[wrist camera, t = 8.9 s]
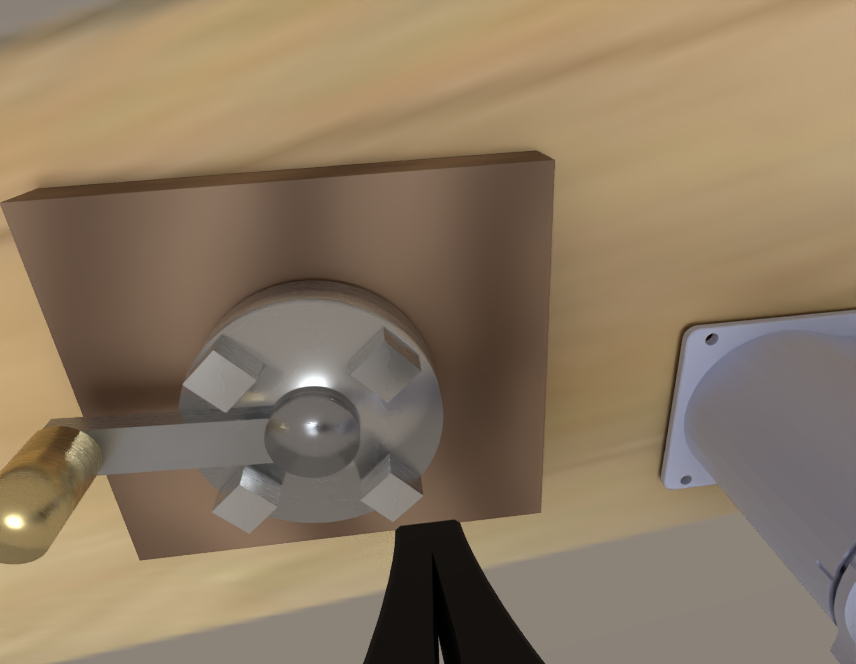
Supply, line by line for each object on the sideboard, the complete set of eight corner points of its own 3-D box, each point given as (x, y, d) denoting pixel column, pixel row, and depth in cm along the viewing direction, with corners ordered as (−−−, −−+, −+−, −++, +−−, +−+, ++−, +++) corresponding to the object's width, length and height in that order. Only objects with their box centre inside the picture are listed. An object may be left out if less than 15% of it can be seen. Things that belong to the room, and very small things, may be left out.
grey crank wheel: (435, 274, 18) (464, 360, 13) (436, 475, 21) (459, 605, 16) (35, 292, 17) (-111, 393, 12) (104, 499, 20) (15, 648, 15)
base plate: (536, 150, 19) (556, 160, 17) (528, 480, 25) (541, 514, 23) (36, 188, 18) (-3, 203, 16) (156, 523, 24) (138, 562, 22)
